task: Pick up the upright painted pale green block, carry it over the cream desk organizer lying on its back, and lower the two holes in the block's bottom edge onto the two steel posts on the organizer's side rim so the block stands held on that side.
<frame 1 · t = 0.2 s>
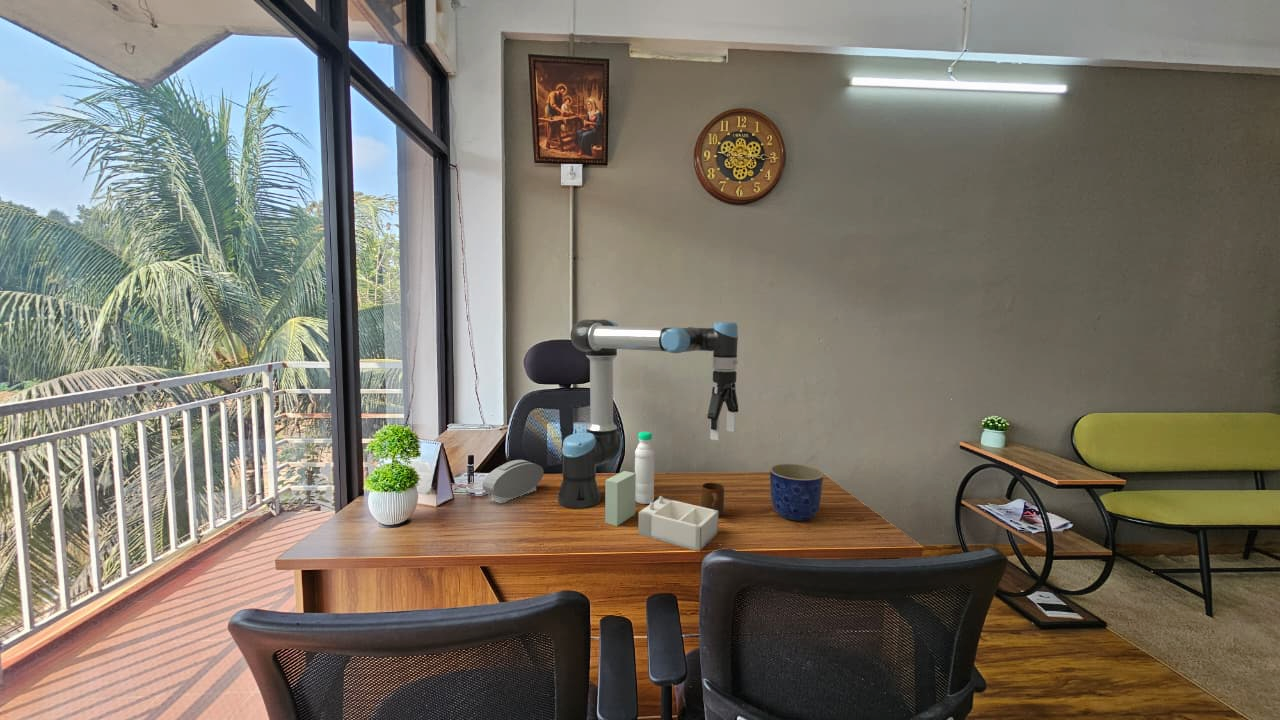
hand: (722, 435, 153), 28 cm above the table, fingers open, 13 cm apart
mug: (713, 516, 157), on the table
planter: (794, 516, 158), on the table
grey rounded oblong block: (514, 496, 173), on the table
desk organizer: (678, 533, 144), on the table
water bottle: (644, 501, 169), on the table
pale green block: (620, 518, 154), on the table
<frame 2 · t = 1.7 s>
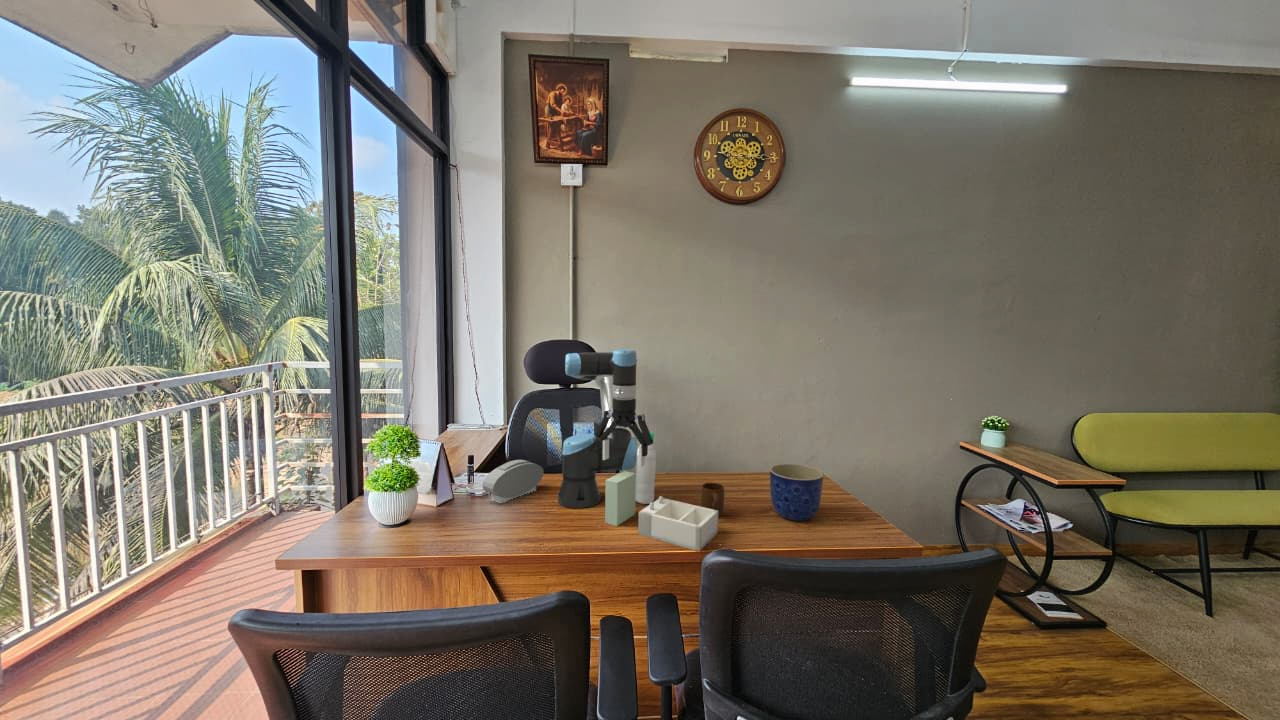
hand: (623, 462, 153), 19 cm above the table, fingers open, 13 cm apart
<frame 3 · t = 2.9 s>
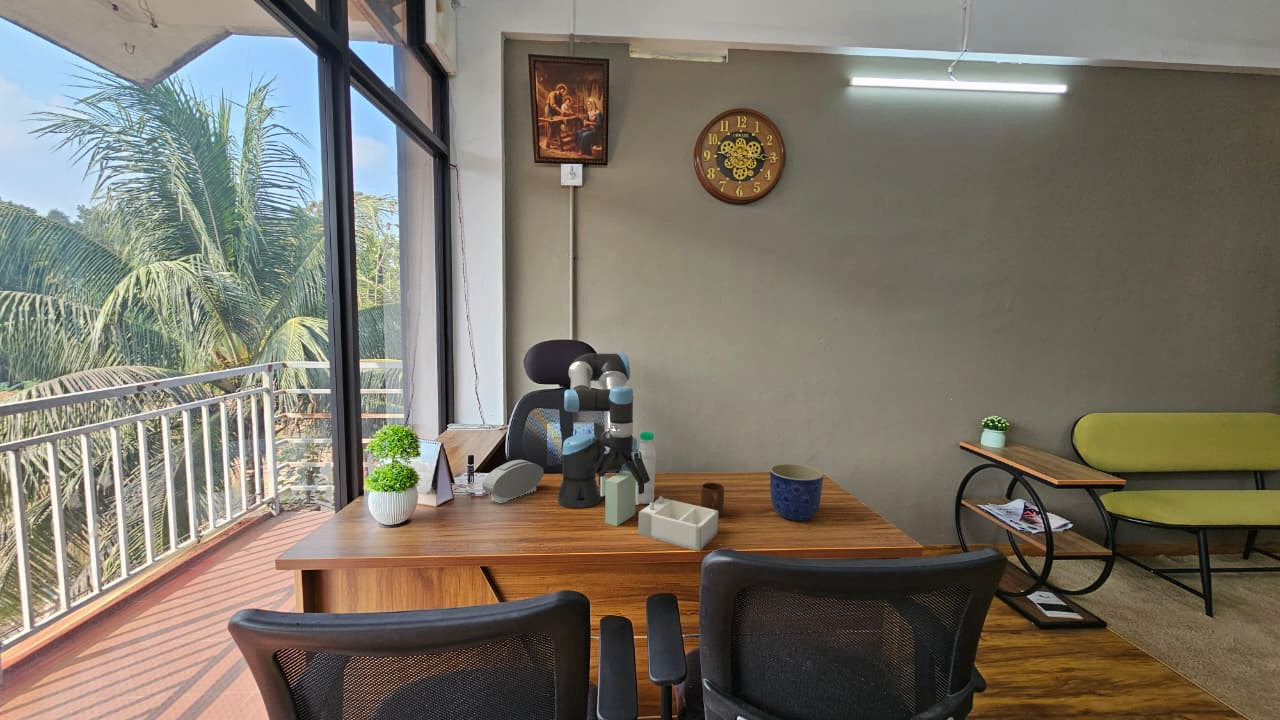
hand: (620, 499, 153), 7 cm above the table, fingers open, 13 cm apart
water bottle: (644, 501, 169), on the table, touching arm
everything else where it was.
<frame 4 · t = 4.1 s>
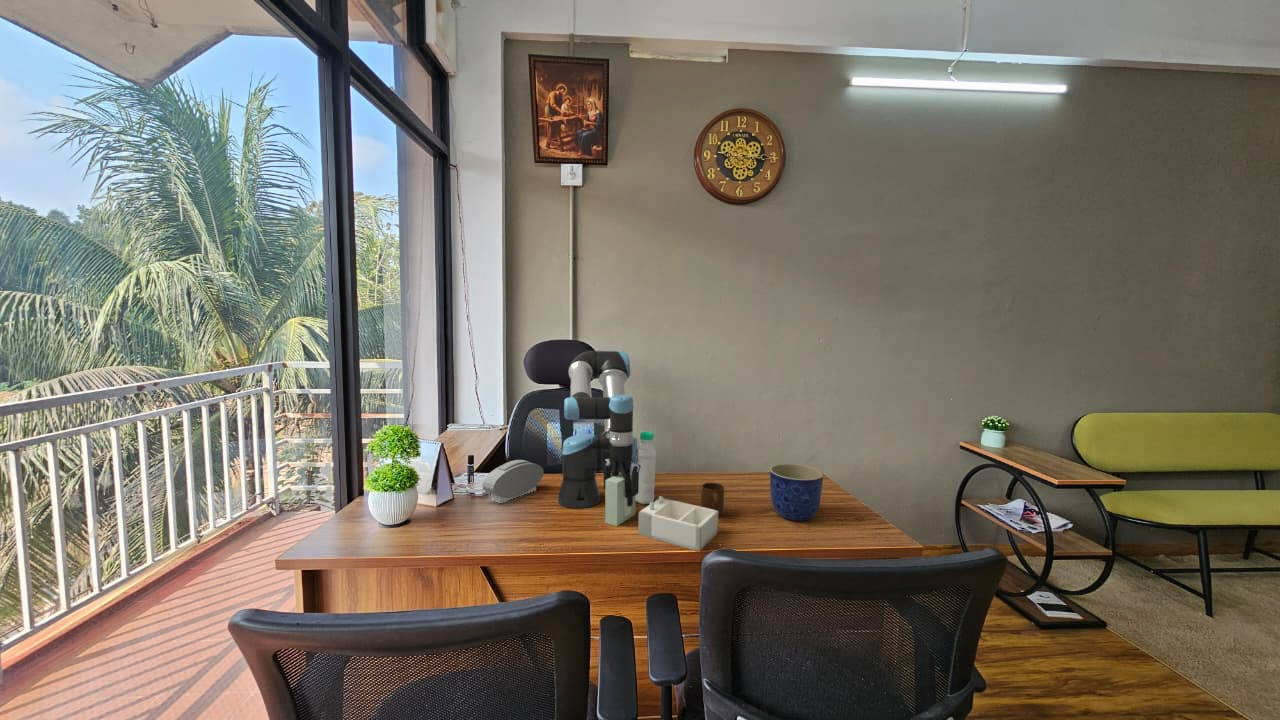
hand: (620, 513, 154), 2 cm above the table, fingers closed on pale green block, 4 cm apart
pale green block: (620, 518, 154), on the table, touching gripper
everything else where it was.
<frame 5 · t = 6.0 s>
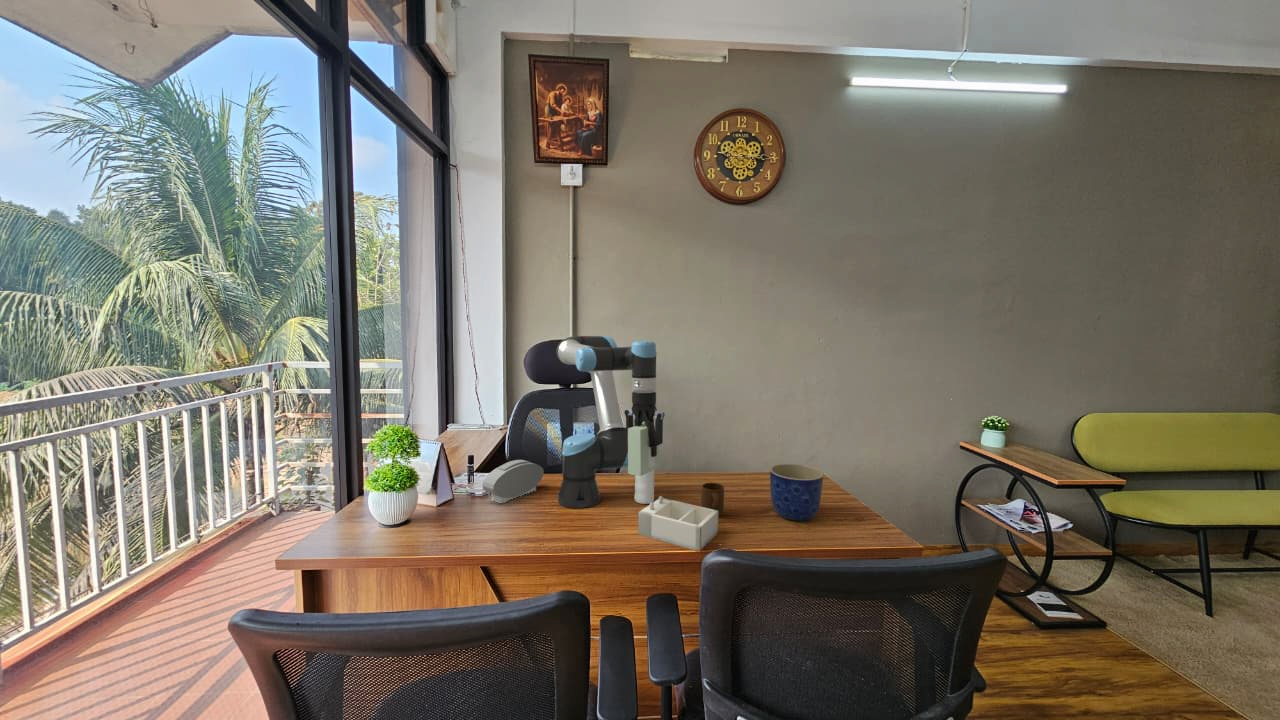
hand: (644, 465, 147), 19 cm above the table, fingers closed on pale green block, 4 cm apart
water bottle: (644, 501, 169), on the table
pale green block: (643, 470, 147), point 18 cm above the table, touching gripper
everything else where it was.
when the fingers open (9 cm above the table, at t = 7.8 s): pale green block stays where it is, resting on desk organizer.
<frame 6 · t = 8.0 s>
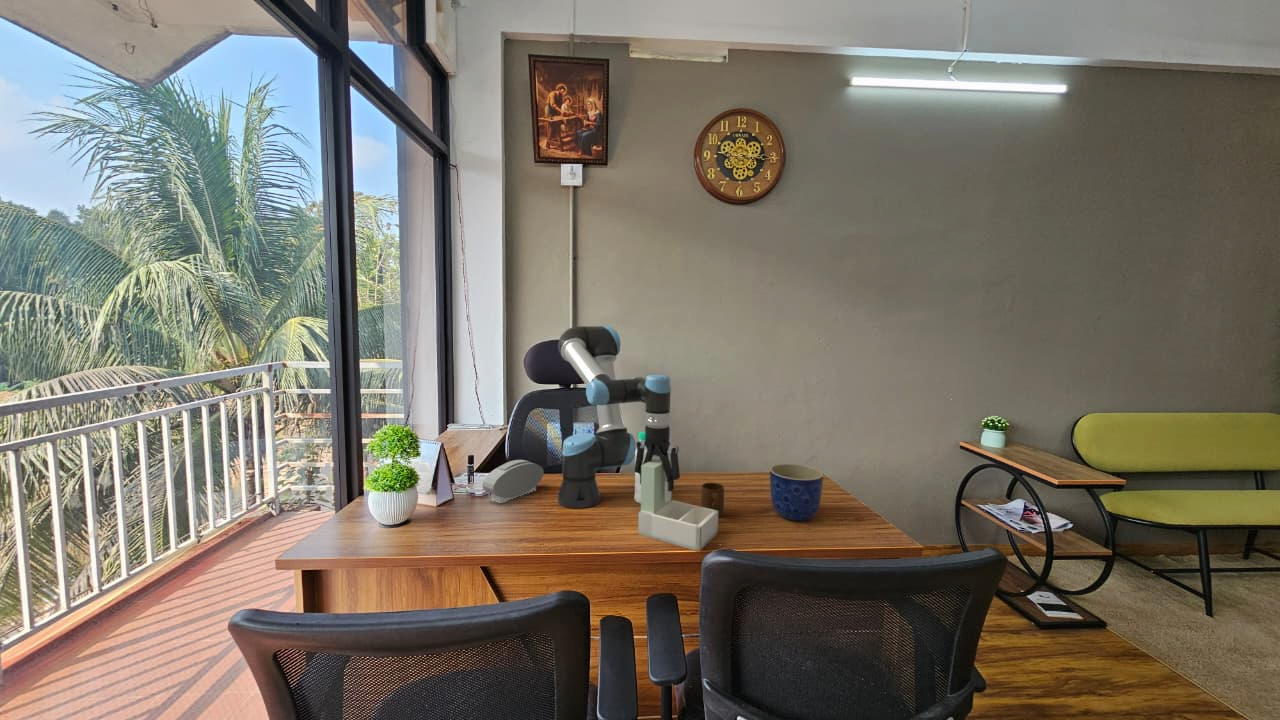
hand: (656, 497, 147), 10 cm above the table, fingers open, 7 cm apart
pale green block: (656, 506, 147), point 7 cm above the table, touching desk organizer
everything else where it was.
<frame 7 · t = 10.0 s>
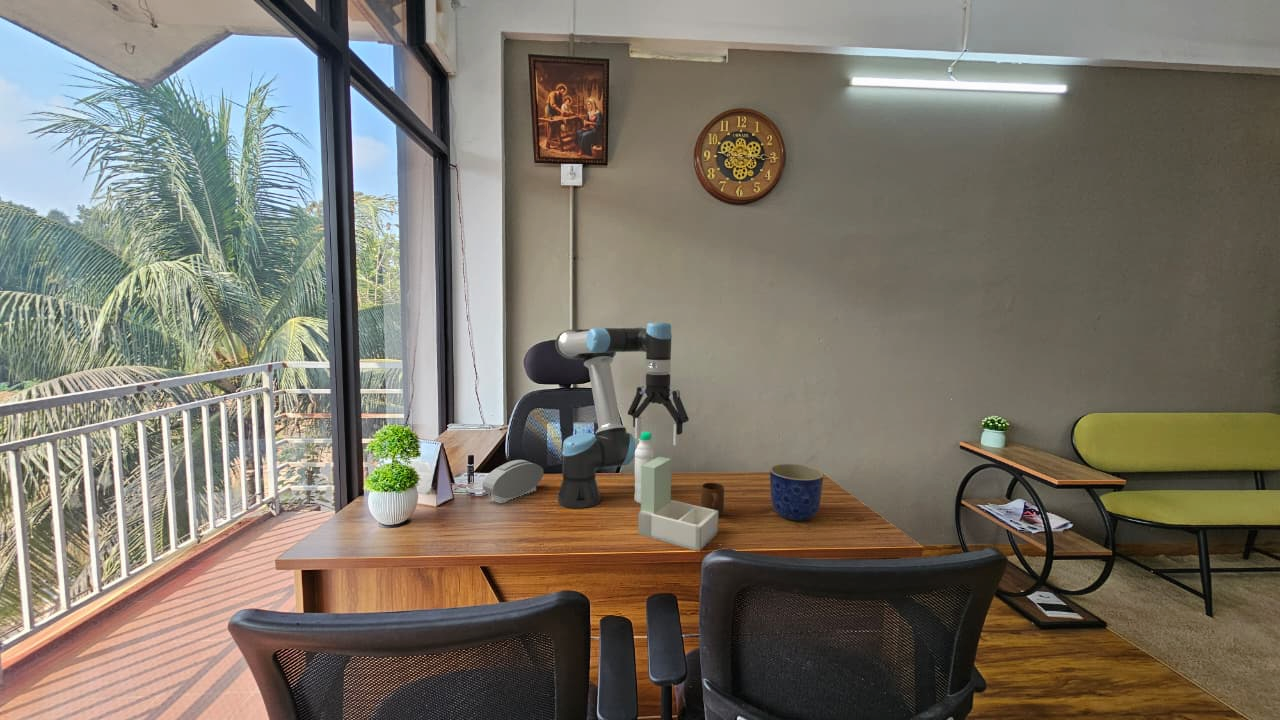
hand: (656, 441, 146), 27 cm above the table, fingers open, 13 cm apart
nothing on the table moved.
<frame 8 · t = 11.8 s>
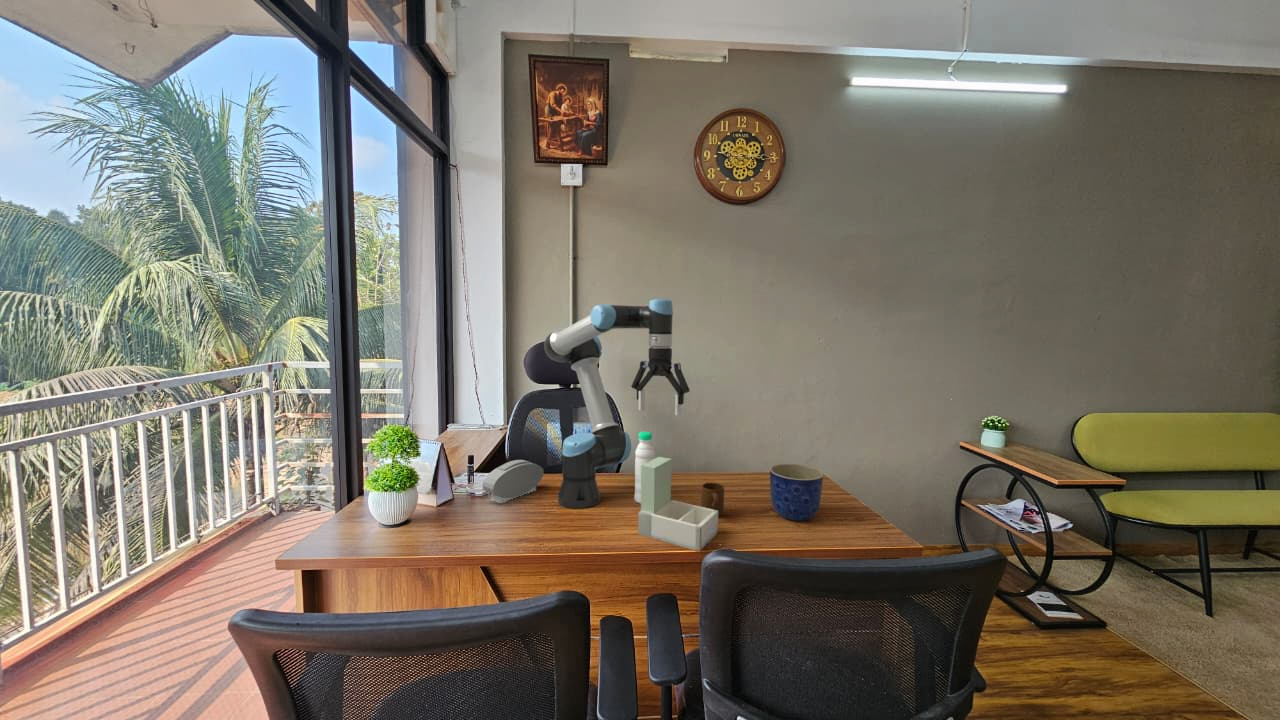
hand: (659, 412, 155), 35 cm above the table, fingers open, 13 cm apart
nothing on the table moved.
at the end: pale green block 0.0 cm from the target spot on the desk organizer, point 7.0 cm above the desk organizer's base; pale green block tilted 0°; the gripper is holding nothing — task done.
